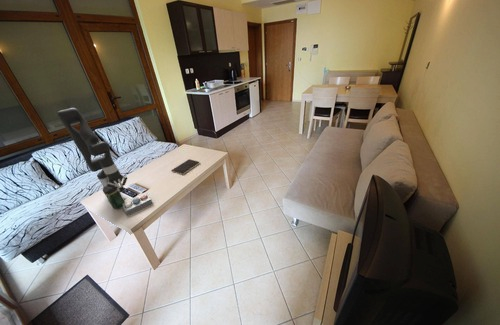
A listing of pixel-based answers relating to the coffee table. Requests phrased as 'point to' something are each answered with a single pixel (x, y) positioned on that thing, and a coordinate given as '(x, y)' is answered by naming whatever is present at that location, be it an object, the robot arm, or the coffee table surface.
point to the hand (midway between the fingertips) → (122, 190)
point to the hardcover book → (185, 167)
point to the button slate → (135, 200)
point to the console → (137, 204)
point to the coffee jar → (113, 197)
